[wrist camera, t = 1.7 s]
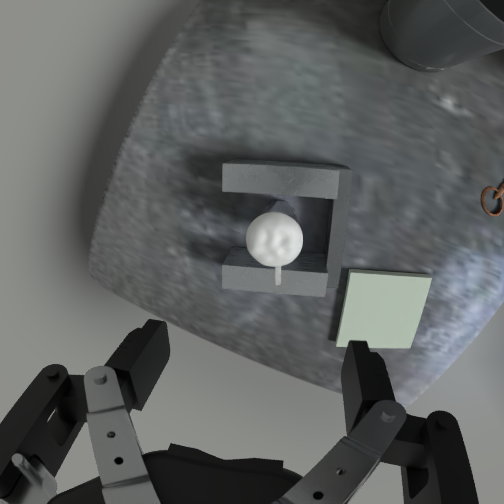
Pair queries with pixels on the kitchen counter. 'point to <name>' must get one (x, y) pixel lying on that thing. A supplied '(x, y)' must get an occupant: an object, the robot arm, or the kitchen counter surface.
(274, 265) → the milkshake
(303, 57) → the kitchen counter surface
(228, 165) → the grey u-shaped bracket
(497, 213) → the key
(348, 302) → the mat
